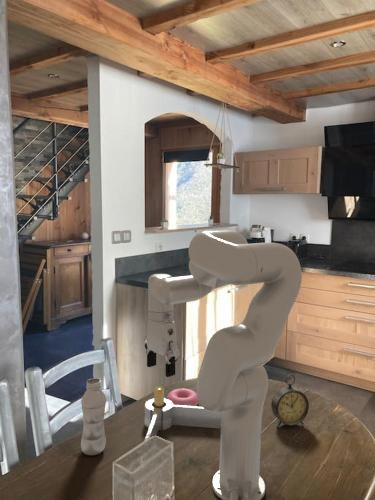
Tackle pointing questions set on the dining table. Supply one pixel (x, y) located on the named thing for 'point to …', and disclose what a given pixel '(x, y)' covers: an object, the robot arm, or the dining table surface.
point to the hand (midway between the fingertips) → (160, 370)
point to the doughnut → (183, 397)
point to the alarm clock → (290, 405)
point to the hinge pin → (158, 397)
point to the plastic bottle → (93, 418)
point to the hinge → (178, 417)
